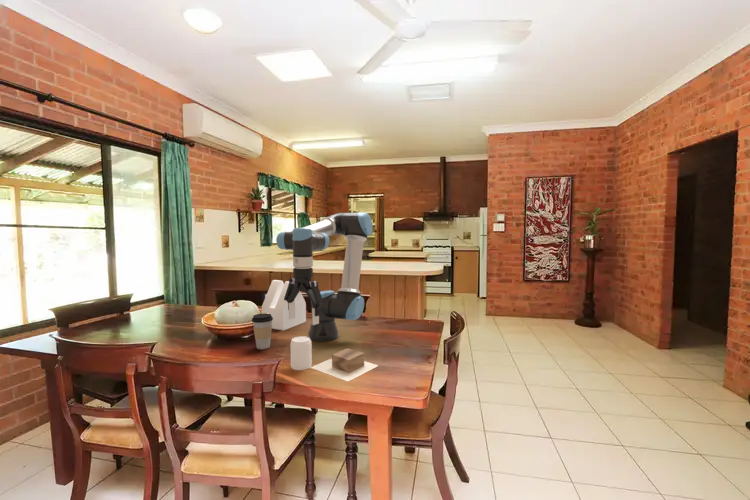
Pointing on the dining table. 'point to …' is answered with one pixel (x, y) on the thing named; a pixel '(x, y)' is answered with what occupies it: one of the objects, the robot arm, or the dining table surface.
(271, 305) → the white slotted holder
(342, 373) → the build board
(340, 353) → the walnut block
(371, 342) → the dining table surface
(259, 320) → the coffee cup
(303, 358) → the beverage can
